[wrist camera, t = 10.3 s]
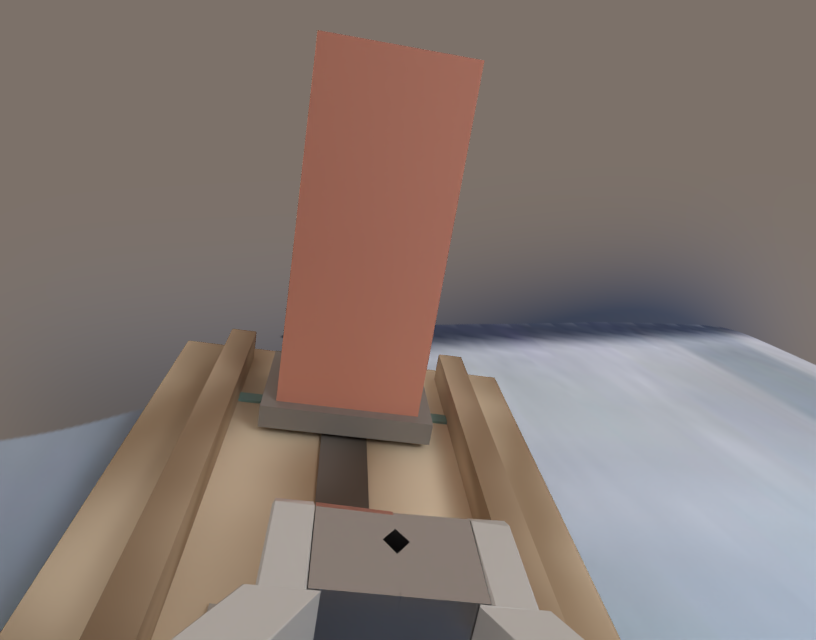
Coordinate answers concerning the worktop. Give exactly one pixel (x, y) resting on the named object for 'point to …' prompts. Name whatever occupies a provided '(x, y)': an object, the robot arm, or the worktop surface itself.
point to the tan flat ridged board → (289, 479)
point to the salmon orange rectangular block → (371, 238)
